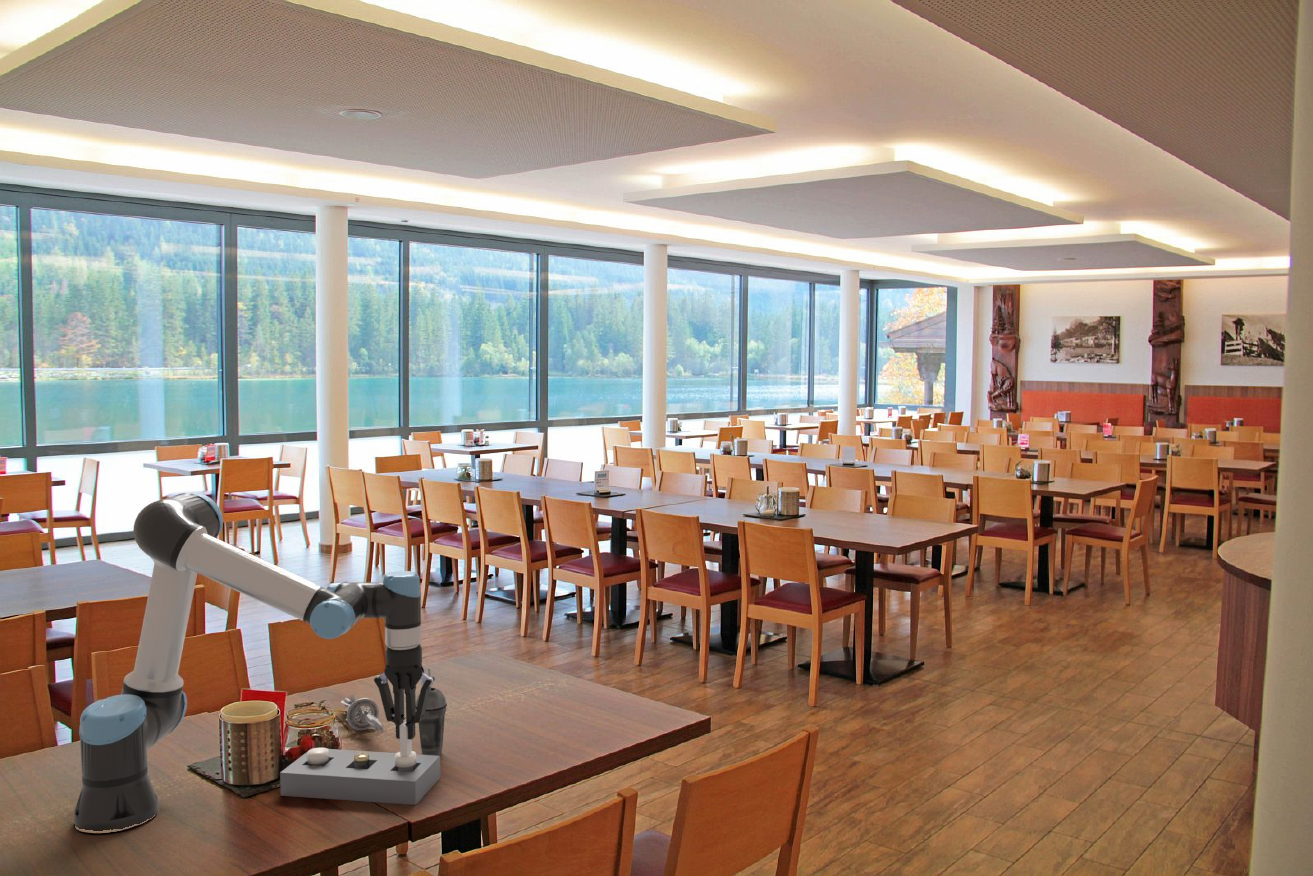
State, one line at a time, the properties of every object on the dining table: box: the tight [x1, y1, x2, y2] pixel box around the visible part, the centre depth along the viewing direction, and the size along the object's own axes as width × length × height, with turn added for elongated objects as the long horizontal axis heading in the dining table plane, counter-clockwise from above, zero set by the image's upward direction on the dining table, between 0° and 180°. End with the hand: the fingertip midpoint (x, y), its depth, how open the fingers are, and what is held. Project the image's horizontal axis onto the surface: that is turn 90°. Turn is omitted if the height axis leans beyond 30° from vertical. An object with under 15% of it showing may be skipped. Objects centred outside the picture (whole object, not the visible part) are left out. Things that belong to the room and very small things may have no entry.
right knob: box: [395, 750, 417, 772], centre depth 218 cm, size 4×4×5 cm
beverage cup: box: [416, 668, 448, 757], centre depth 238 cm, size 7×7×20 cm
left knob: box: [307, 747, 329, 766], centre depth 221 cm, size 4×4×5 cm
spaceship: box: [340, 694, 384, 733], centre depth 254 cm, size 8×35×8 cm
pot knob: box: [354, 753, 369, 769], centre depth 220 cm, size 3×3×3 cm
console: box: [279, 747, 441, 806], centre depth 220 cm, size 14×30×5 cm, turn 81°
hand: (406, 753), depth 218 cm, fingers closed
